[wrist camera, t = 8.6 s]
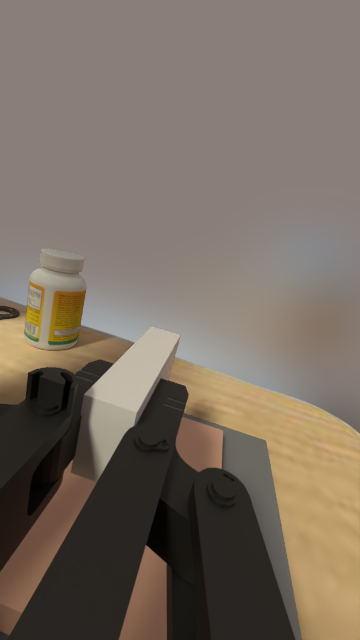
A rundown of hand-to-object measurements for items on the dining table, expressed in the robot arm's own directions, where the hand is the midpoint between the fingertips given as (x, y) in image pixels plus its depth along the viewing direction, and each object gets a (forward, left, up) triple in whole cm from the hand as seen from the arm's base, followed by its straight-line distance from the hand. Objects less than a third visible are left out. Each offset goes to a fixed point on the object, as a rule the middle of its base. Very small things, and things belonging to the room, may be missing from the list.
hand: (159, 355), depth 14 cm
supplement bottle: (-19, +5, -9) cm, 21 cm away
